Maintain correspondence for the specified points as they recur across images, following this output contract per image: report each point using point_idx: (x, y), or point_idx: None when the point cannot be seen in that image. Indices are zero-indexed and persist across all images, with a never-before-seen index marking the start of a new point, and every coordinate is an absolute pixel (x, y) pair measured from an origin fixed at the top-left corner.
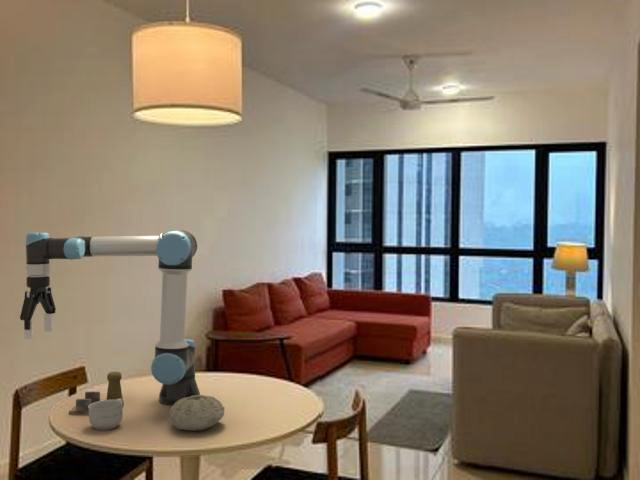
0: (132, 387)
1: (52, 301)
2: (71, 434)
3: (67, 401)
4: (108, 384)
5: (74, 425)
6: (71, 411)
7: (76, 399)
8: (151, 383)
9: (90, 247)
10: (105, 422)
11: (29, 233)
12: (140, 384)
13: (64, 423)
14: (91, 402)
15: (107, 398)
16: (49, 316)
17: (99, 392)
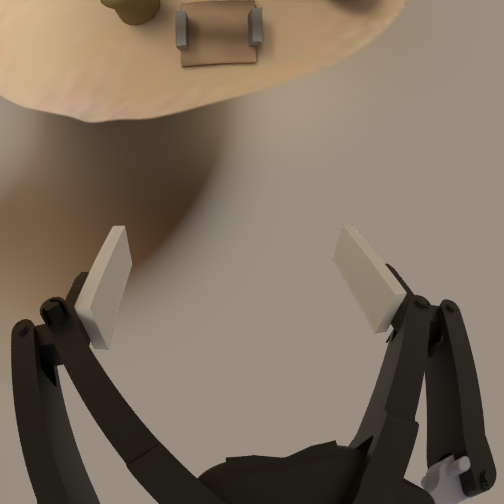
0: (34, 36)
1: (31, 404)
2: (377, 31)
3: (148, 113)
4: (135, 5)
5: (329, 32)
6: (255, 56)
7: (258, 41)
8: (10, 21)
9: None
10: None
11: None
12: (14, 37)
13: (318, 53)
14: (188, 33)
15: (151, 13)
16: (100, 304)
17: (180, 11)
